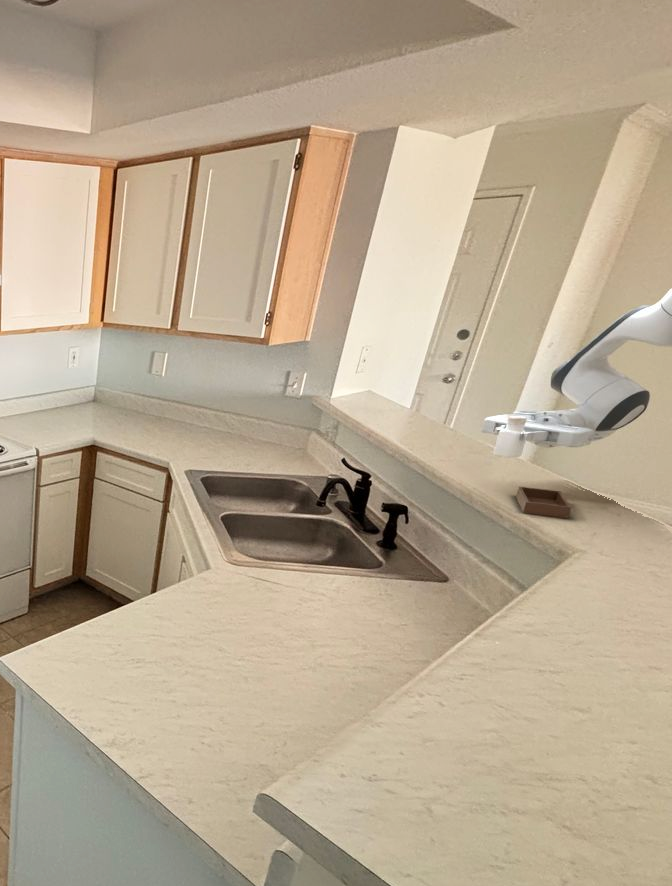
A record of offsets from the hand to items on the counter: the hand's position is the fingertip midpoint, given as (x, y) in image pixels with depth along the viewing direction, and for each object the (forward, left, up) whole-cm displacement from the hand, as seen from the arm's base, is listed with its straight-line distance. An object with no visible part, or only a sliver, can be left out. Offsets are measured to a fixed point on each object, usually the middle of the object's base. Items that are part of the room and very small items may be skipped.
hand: (509, 434), depth 139 cm
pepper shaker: (-1, -1, -6) cm, 6 cm away
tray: (-5, +13, -13) cm, 20 cm away
